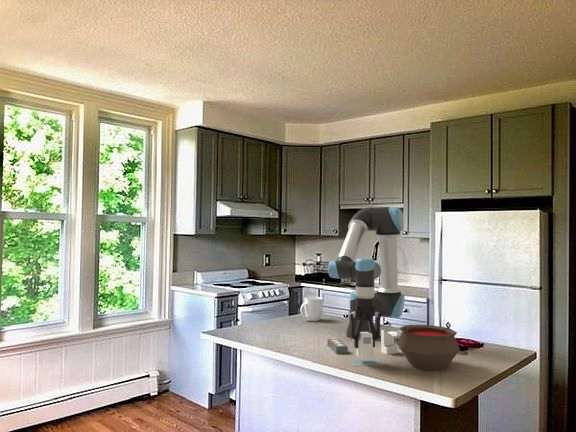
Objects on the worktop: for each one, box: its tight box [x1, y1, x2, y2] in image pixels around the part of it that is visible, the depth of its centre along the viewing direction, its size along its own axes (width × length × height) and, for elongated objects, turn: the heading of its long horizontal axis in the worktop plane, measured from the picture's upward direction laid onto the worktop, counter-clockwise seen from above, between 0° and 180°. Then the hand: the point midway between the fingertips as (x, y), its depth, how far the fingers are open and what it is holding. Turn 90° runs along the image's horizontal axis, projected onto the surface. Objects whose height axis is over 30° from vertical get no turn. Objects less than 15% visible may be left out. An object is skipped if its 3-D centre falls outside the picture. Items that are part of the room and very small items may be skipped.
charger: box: [359, 332, 374, 359], centre depth 181 cm, size 4×7×9 cm, turn 11°
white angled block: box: [380, 328, 398, 355], centre depth 196 cm, size 4×10×9 cm, turn 117°
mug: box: [299, 296, 324, 322], centre depth 267 cm, size 15×11×13 cm
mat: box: [346, 357, 384, 367], centre depth 180 cm, size 12×9×1 cm
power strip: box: [326, 337, 349, 355], centre depth 203 cm, size 5×20×4 cm, turn 11°
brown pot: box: [396, 321, 461, 371], centre depth 179 cm, size 24×24×16 cm
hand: (364, 355), depth 180 cm, fingers closed on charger, 4 cm apart
